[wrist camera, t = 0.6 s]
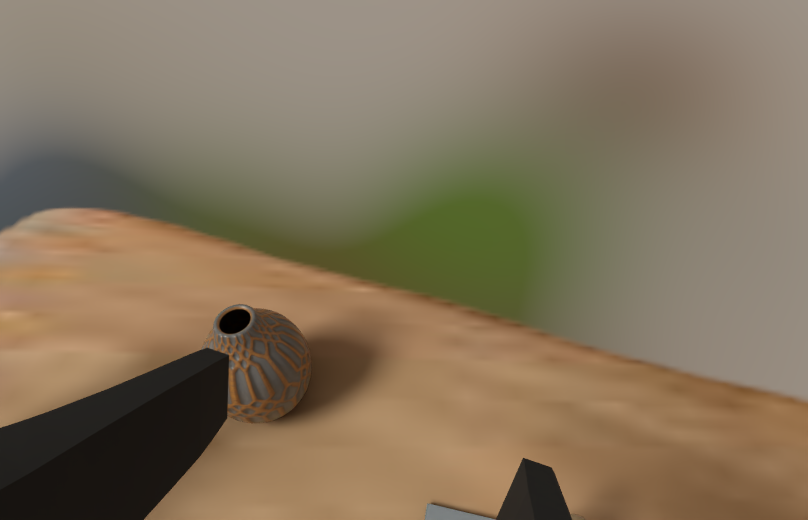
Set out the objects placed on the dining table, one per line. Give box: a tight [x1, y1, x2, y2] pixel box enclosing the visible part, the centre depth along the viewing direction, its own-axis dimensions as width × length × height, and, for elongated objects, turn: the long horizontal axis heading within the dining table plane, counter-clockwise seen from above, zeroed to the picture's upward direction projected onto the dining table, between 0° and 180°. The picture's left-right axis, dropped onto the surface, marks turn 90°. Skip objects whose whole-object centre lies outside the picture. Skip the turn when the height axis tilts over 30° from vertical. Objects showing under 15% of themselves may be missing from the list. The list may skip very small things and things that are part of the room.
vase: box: [202, 304, 312, 423], centre depth 28 cm, size 7×7×9 cm
